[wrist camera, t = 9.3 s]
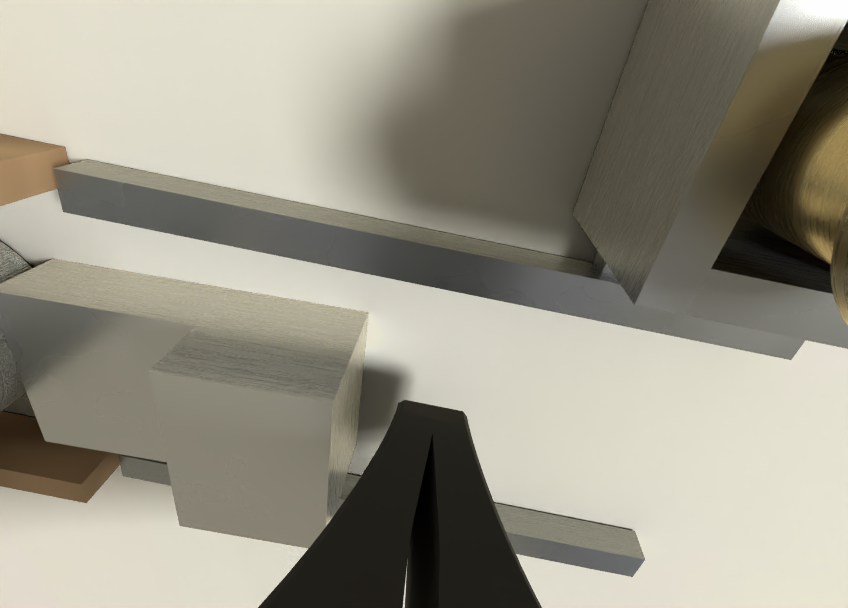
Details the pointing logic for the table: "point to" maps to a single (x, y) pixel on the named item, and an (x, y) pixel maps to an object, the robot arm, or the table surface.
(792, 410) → the table surface
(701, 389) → the table surface
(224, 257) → the table surface
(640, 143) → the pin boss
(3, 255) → the planter
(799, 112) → the brass knob
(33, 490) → the frame
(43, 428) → the grey notched block
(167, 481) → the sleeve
